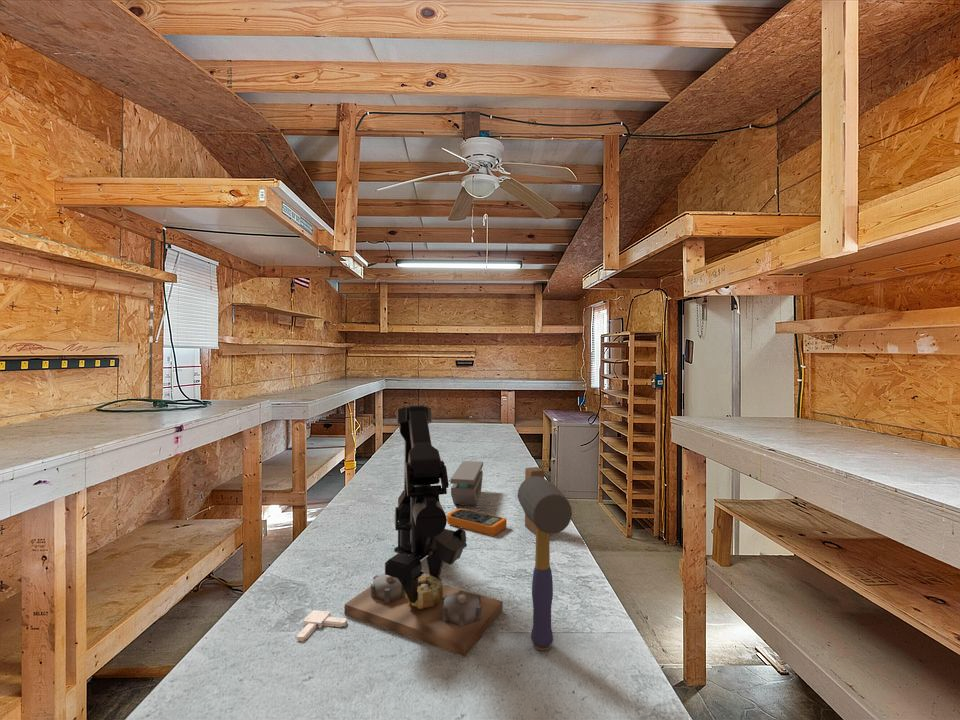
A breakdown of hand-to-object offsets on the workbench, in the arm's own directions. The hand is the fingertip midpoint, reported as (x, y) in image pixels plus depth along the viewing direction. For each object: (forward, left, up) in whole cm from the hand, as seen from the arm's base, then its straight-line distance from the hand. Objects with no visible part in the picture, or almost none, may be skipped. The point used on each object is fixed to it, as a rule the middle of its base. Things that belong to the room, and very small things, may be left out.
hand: (424, 593), depth 93 cm
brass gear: (0, 0, -1) cm, 1 cm away
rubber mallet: (+25, +1, -4) cm, 25 cm away
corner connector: (-14, -14, -5) cm, 20 cm away
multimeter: (-12, +46, -5) cm, 48 cm away
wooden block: (+6, +51, -4) cm, 52 cm away
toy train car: (-26, +66, -4) cm, 71 cm away
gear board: (0, 0, -4) cm, 4 cm away
